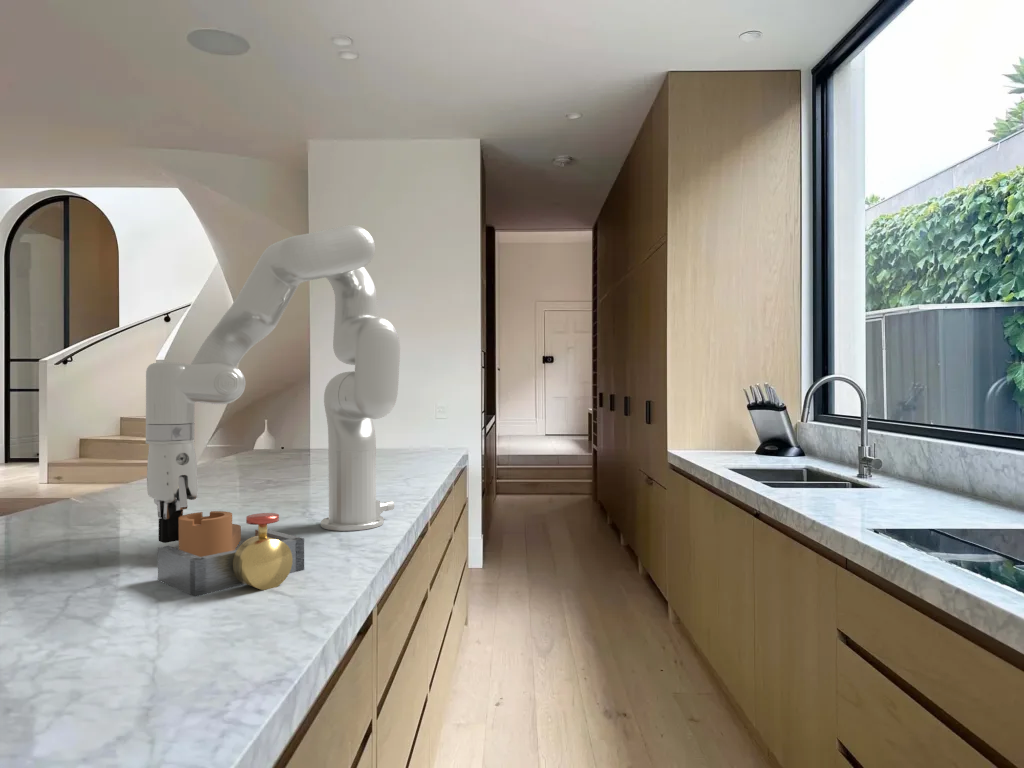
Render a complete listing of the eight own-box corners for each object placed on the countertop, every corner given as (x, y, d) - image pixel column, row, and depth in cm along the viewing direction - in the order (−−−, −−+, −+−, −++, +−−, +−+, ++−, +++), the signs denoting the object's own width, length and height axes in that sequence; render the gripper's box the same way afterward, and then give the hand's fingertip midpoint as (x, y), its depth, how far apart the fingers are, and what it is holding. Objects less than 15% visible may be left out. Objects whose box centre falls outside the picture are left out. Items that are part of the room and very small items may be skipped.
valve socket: (263, 558, 113) (263, 497, 113) (322, 576, 102) (322, 508, 102) (157, 581, 100) (157, 512, 100) (212, 604, 89) (211, 527, 89)
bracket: (228, 561, 112) (227, 519, 112) (173, 564, 110) (173, 521, 110) (243, 537, 129) (243, 501, 129) (196, 539, 127) (196, 503, 127)
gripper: (212, 435, 114) (212, 543, 114) (174, 431, 124) (173, 531, 124) (166, 437, 109) (165, 552, 108) (129, 433, 118) (129, 538, 118)
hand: (170, 540), depth 116 cm, fingers closed
